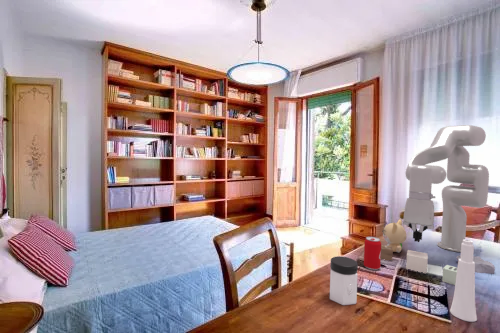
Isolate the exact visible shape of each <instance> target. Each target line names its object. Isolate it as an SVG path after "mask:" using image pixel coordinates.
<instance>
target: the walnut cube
mask: <svg viewBox="0 0 500 333" xmlns="http://www.w3.org/2000/svg"><path fill="white" fill-rule="evenodd" d="M393 255H394V254H393V249H392V246H386V245H384V244H381V260H382V259H385V260H384V261H388V260H392V261H393Z"/></svg>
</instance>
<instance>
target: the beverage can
mask: <svg viewBox="0 0 500 333" xmlns="http://www.w3.org/2000/svg"><path fill="white" fill-rule="evenodd" d="M381 245H382V241H381V239H380V238H379V237H376V236H366V237H365V240H364V246H363V247H364V249H363V266H364V267H365V268H366V269H369V270H373V271H378V270H380V269H381V266H382V265H381V263H382V259H381Z"/></svg>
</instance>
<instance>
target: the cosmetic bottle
mask: <svg viewBox="0 0 500 333" xmlns="http://www.w3.org/2000/svg"><path fill="white" fill-rule="evenodd" d="M474 250H475V246H474V241H473V240H469V239H465V240H463V243H462V244H461V252H460V255H461V258H460V259H459V260H457V275H456V284H455V285H454V292H453V298H452V301H451V302H452V303H451V307H450V309H449V313H450V314H451V315H452V316H454V317H456V318H457V319H459V320H461V321H464V322H470V323H473V322H476V321H477V320H478V316H477V311H476V310H477V309H476V296H475V295H476V294H475V293H476V292H475V290H476V288H475V285H476V276H475V275H476V272H475V263H474V262H473V256H474Z"/></svg>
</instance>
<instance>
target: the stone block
mask: <svg viewBox="0 0 500 333" xmlns="http://www.w3.org/2000/svg"><path fill="white" fill-rule="evenodd" d="M455 258H456V260H457V261H458V260H459V259H460V258H461V254H460V255H456V257H455ZM473 262H474V263H475V274H476V273H477V274H492V275H494V274H495V271H496V267H495V264H493V263H492V261H488V260H485V259H482V257H481V256H478V255H477V256H475V255H473Z"/></svg>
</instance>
